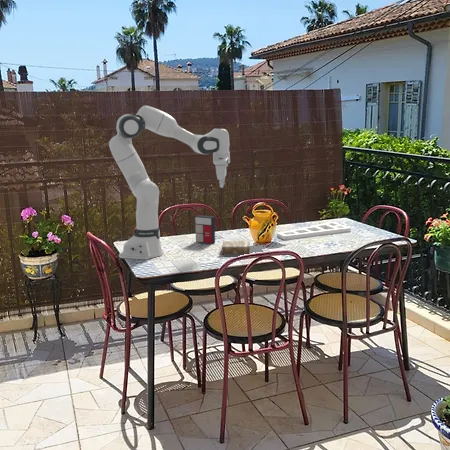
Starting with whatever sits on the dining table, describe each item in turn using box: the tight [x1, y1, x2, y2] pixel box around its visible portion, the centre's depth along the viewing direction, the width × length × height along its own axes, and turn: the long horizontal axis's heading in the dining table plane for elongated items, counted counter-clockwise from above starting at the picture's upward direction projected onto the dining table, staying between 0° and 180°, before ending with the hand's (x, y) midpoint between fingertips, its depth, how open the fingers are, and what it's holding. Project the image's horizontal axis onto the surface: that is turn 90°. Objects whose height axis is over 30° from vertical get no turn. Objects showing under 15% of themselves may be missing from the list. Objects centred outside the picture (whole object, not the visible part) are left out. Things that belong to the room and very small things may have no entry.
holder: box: [276, 221, 352, 241], centre depth 283 cm, size 45×18×3 cm, turn 111°
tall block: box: [221, 240, 251, 255], centre depth 246 cm, size 4×11×14 cm
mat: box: [224, 245, 266, 258], centre depth 246 cm, size 21×18×1 cm
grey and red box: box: [194, 214, 216, 245], centre depth 264 cm, size 11×4×15 cm, turn 62°
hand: (222, 186), depth 249 cm, fingers open, 8 cm apart
